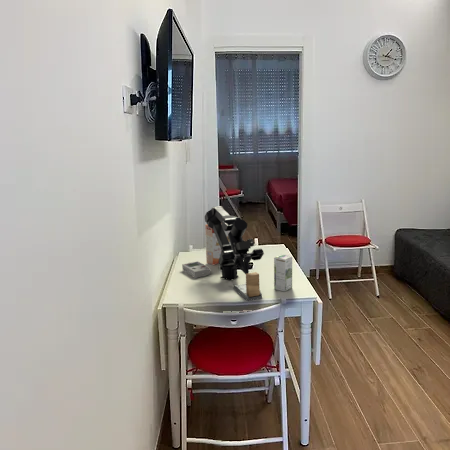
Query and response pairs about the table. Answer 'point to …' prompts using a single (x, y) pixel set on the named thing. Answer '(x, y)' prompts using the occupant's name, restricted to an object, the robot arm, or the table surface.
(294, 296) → the table surface
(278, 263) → the syrup box
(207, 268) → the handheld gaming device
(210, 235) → the cracker box
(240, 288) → the rail
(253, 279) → the brown rectangular block
